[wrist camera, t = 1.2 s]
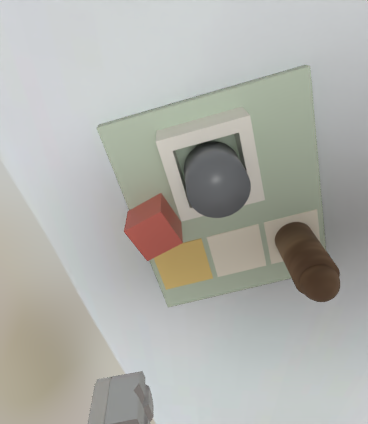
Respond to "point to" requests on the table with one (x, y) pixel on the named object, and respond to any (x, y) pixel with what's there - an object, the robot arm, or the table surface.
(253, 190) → the housing
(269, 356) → the table surface
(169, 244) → the red cube
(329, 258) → the pawn
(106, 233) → the table surface
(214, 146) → the dome
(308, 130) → the board
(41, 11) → the table surface
